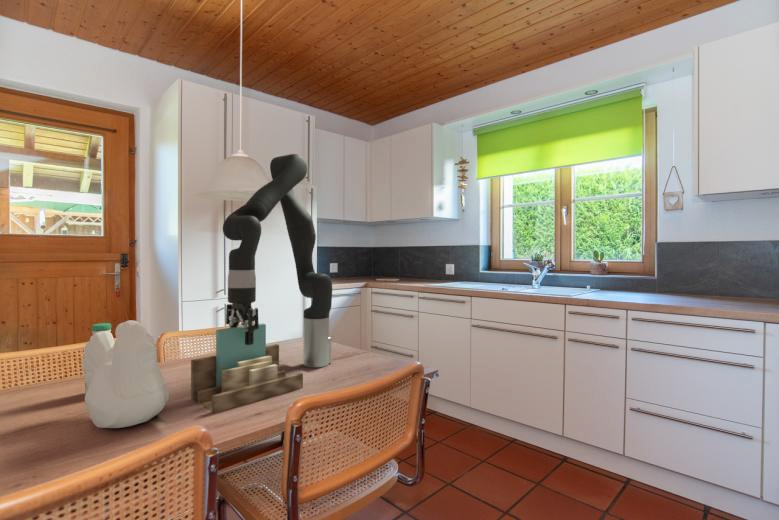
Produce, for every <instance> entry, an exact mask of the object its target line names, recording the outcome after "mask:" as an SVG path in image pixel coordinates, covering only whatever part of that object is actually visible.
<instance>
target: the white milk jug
mask: <svg viewBox="0 0 779 520" xmlns="http://www.w3.org/2000/svg"><path fill="white" fill-rule="evenodd" d="M114 333H115V338H116V340H115V339H114V336H113V333H112V332H111V331H110V332H109V331H100V332H98V333H95V334H94V335H93V334H92V335H91V336H90V338H89V341H87V343H86V344H85V345H84V350H83V357H82V359H81V366H82V371H83V372H84V375H83V378H84V384H85V383H86V385H87V386H88V390H87V392H86V394H85V395H84V402H85V405H86V408H87V412H88V415H89V417H90V419H91V421H92V423H93V424H94V426H96V427H97V428H101V429H102V428H103V429H105V428H106V429H107V428H108V429H120V428H127V427H128V428H129V427H132V426H135V425H138V424H143V423H146V422H148V421H149V420H151V419H152V418H154V417H156V416H157V415H159V414H160V413H161V411H162V410H163V409H164V407H165V404H166V403H167V402H168V401H169V399H170V395H171V393H170V391H169V388H168V385H167V384H166V382H165V381H166V380H165V377H163V373H162V371H161V369H160V366H159V363H158V356H157V355H158V354H157V345H156V340H155V339H154V337H153V335H151V334H150V333H149V332H148V329H147V328H146V326H145V325H144V324H142V323H140V322H139V321H137V320H133V319H132V320H131V319H129V320H126V321H124V322H121V323H119V324H117V326H116V328H115V331H114Z"/></svg>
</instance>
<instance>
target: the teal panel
mask: <svg viewBox="0 0 779 520" xmlns="http://www.w3.org/2000/svg"><path fill="white" fill-rule="evenodd" d="M258 326H259V328H258V329H256V330H255V331H254V339H253V344H252V345H245V332H246V331H245V329H244V326H243V325H241V326H237V327H233V328H230V327H228V328H227V327H226V328H220V329H216V330H215V335H216V336H215V337H216V339H215V344H216V345H215V350H216V351H215V352H216V353H215V355H216V387H218V386H222V371H223V370H227V369H232V368H237V362H240V361H245V360H250V359H255V358H260V357H264V356H266V346H267V343H266V342H267V336H266V335H267V331H266V329H267V325H266V324H265V323H258Z"/></svg>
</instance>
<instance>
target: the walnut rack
mask: <svg viewBox="0 0 779 520" xmlns="http://www.w3.org/2000/svg"><path fill="white" fill-rule="evenodd" d="M266 356H272V365H274V364H275V365H277V379H274V380H270V381H266V382H262V383H259V384H255V385H251V386H247V387H243V388H239V389H235V390H231V391H227V392H224V393H222V386H218V387H216V354H214V355H211V356H206V357H200V358H194V359H190V399H191V400H192V401H194V402H195V403H196V404H198V405H200V406H202V407H203V408H205V409H207V410H208V411H210V412H212V413H213V414H218V413H221V412H224V411H227V410H231V409H234V408H238V407H242V406H246V405H248V404H252V403H256V402H259V401H262V400H266V399H270V398H272V397H275V396H276V397H277V396H278V395H283V394H286V393H290V392H293V391H296V390H300V389H303V388H304V387H303V386H304V375H303V373H301V372H298V373H294V374H290V375H286V370H280V344H277V343H276V344H275V343H274V344H270V345H266Z"/></svg>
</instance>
